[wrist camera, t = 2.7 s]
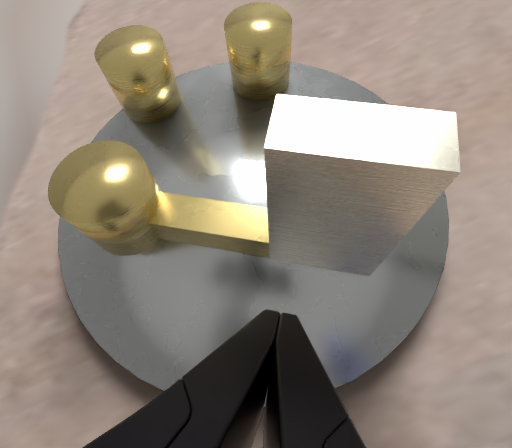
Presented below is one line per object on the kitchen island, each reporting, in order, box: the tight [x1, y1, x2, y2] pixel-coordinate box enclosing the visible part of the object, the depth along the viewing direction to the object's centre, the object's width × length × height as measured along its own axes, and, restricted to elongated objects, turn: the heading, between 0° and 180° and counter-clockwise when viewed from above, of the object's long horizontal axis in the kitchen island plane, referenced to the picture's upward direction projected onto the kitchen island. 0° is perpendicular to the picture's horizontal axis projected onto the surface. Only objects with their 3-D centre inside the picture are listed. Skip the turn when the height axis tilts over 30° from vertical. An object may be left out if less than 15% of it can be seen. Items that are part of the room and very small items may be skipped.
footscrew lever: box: [48, 94, 460, 277], centre depth 14 cm, size 15×4×9 cm, turn 79°
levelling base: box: [58, 2, 449, 407], centre depth 18 cm, size 22×22×5 cm
